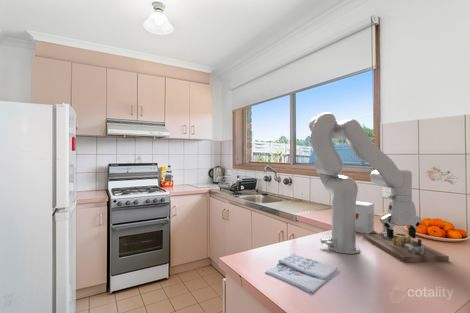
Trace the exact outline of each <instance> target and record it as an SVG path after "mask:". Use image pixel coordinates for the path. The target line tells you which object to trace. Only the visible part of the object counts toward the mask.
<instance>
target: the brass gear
mask: <svg viewBox="0 0 470 313" xmlns="http://www.w3.org/2000/svg"><path fill="white" fill-rule="evenodd" d="M399 235H402V236H399ZM411 239H412V237H411V236H410V235H409V233H404V232H395V231H394V238H393V239H391V242H392V244H395V245H398V246H403V247H404V244H407V243H411Z"/></svg>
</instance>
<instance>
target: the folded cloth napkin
mask: <svg viewBox="0 0 470 313" xmlns="http://www.w3.org/2000/svg"><path fill="white" fill-rule="evenodd" d="M297 271H298V272H301V273H297ZM339 273H340V270H338V266H334V265H332V264H328V263H325V262H321V261H318V260H316V259H315V260H314V259H311V258H308V257H304V256H300V255H297V254H295V253H292V254H289V255H288V256H285V257H282V258H281V259H278V263H277V264H276V266H273V267H272V268H270V269H268V270H266V271H265V272H264V274H266V275H269V276H271V277H274V278H276V279H278V280H280V281H283V282H285V283H287V284H290V285H292V286H294V287H297V288H299V289H301V290H302V291H305V292H306V293H307V294H311V295H313V294H314V293H315V292H316V291H317V290H318V289H319V288H321V287H322V286H323V285H324V284H326V283H327V282H328V281H330V280H331V279H332V278H333V277H335V276H336V275H339Z"/></svg>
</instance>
